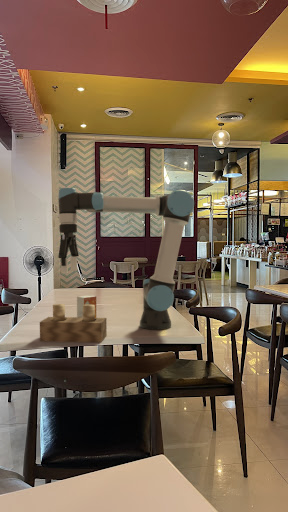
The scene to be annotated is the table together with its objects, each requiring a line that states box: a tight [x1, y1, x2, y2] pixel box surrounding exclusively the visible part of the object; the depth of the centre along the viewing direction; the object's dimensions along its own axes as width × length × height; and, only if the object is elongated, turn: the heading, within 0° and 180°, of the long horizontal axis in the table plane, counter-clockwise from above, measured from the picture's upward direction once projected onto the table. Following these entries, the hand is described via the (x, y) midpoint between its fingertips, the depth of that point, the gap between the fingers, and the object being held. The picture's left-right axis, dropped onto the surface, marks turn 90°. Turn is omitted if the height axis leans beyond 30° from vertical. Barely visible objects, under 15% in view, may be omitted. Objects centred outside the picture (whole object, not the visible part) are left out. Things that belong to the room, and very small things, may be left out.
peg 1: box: [52, 303, 66, 321], centre depth 172 cm, size 5×5×8 cm
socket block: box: [39, 316, 108, 343], centre depth 172 cm, size 26×11×8 cm, turn 84°
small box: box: [76, 294, 97, 318], centre depth 207 cm, size 8×6×13 cm
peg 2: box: [83, 304, 95, 322], centre depth 171 cm, size 5×5×8 cm
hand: (69, 272), depth 177 cm, fingers open, 13 cm apart
